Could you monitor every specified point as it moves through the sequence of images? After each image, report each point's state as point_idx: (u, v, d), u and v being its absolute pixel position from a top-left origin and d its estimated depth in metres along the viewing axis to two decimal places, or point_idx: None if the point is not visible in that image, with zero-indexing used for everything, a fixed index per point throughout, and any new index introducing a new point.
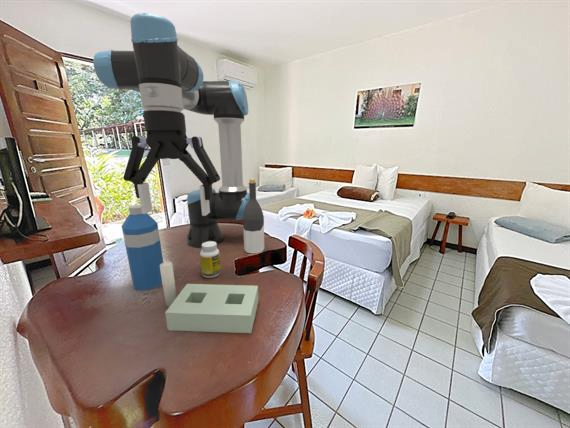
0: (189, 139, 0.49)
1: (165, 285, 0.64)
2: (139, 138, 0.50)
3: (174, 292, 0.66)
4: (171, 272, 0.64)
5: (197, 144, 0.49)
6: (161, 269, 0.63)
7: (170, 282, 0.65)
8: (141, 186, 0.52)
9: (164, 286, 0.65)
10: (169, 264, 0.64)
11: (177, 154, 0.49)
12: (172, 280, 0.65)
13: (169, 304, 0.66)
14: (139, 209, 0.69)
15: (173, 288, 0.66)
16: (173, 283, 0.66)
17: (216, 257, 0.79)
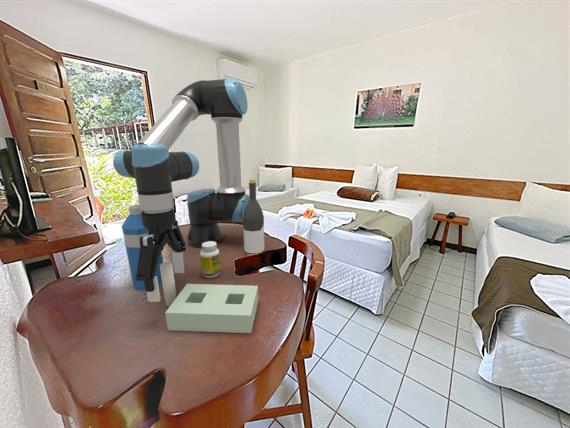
0: None
1: (165, 285, 0.64)
2: None
3: (174, 292, 0.66)
4: (171, 272, 0.64)
5: None
6: (161, 269, 0.63)
7: (170, 282, 0.65)
8: (173, 254, 0.70)
9: (164, 286, 0.65)
10: (169, 264, 0.64)
11: None
12: (172, 280, 0.65)
13: (169, 304, 0.66)
14: (139, 209, 0.69)
15: (173, 288, 0.66)
16: (173, 283, 0.66)
17: (216, 257, 0.79)
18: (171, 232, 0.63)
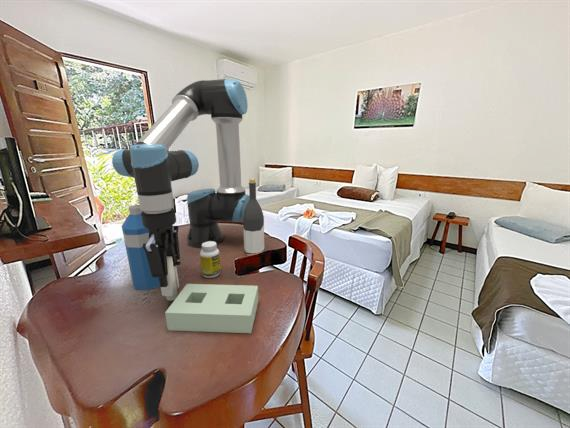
0: None
1: None
2: None
3: (174, 286, 0.66)
4: (171, 266, 0.64)
5: None
6: None
7: None
8: None
9: None
10: (169, 258, 0.64)
11: None
12: (172, 274, 0.65)
13: (169, 298, 0.66)
14: (139, 209, 0.69)
15: (173, 282, 0.66)
16: (173, 277, 0.65)
17: (216, 257, 0.79)
18: (171, 232, 0.63)
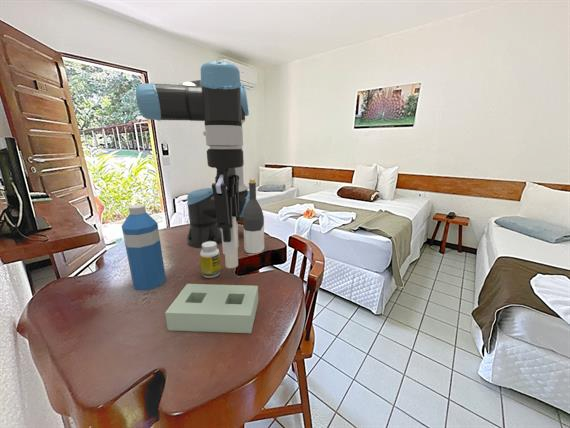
0: None
1: None
2: None
3: (236, 251, 0.57)
4: (235, 227, 0.56)
5: None
6: None
7: None
8: None
9: None
10: (233, 217, 0.56)
11: None
12: (235, 237, 0.56)
13: (230, 264, 0.57)
14: (139, 209, 0.69)
15: (236, 246, 0.57)
16: (236, 240, 0.57)
17: (216, 257, 0.79)
18: (237, 178, 0.54)
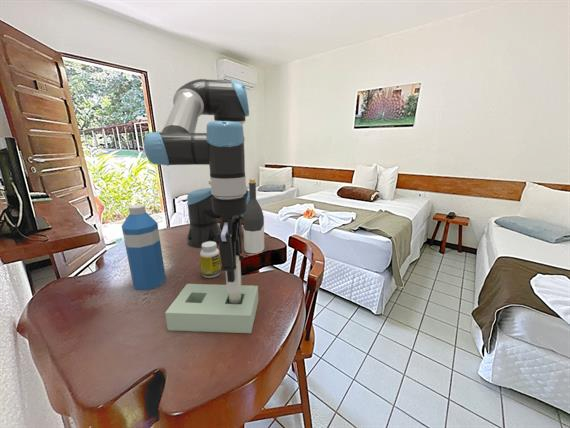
0: None
1: None
2: None
3: (239, 288, 0.60)
4: (238, 266, 0.59)
5: None
6: None
7: None
8: None
9: None
10: (236, 257, 0.58)
11: None
12: (238, 275, 0.59)
13: (234, 301, 0.60)
14: (139, 209, 0.69)
15: (239, 284, 0.60)
16: (239, 278, 0.60)
17: (216, 257, 0.79)
18: (240, 221, 0.57)
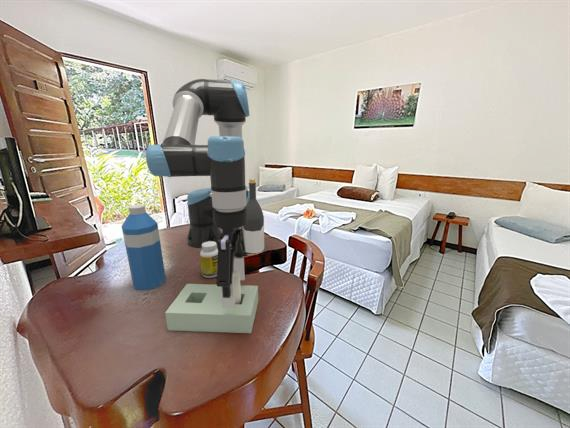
0: None
1: None
2: None
3: None
4: (239, 283, 0.60)
5: (218, 247, 0.51)
6: None
7: (237, 294, 0.60)
8: (234, 259, 0.65)
9: None
10: (237, 274, 0.60)
11: None
12: (239, 291, 0.60)
13: None
14: (139, 209, 0.69)
15: (240, 300, 0.61)
16: (240, 294, 0.61)
17: (216, 257, 0.79)
18: (240, 232, 0.58)
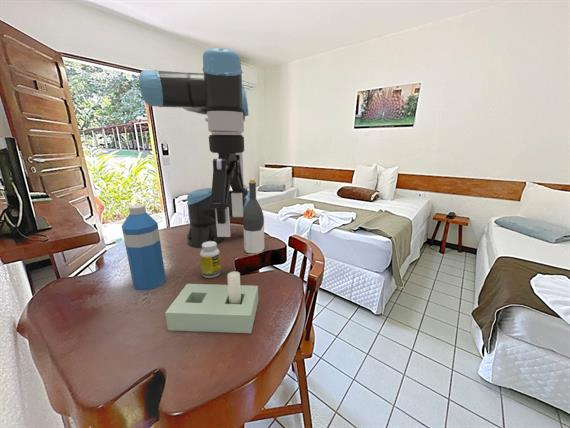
0: None
1: (232, 297, 0.60)
2: None
3: None
4: (239, 283, 0.60)
5: None
6: (229, 280, 0.59)
7: (237, 293, 0.60)
8: (232, 194, 0.64)
9: (231, 298, 0.60)
10: (237, 274, 0.60)
11: None
12: (239, 291, 0.61)
13: None
14: (139, 209, 0.69)
15: (240, 300, 0.61)
16: (240, 294, 0.61)
17: (216, 257, 0.79)
18: (238, 163, 0.56)
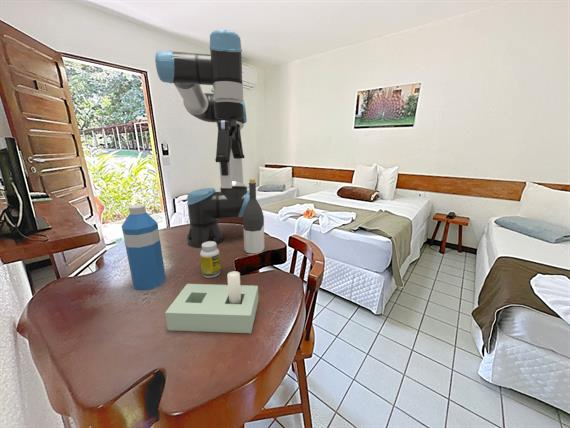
0: None
1: (232, 297, 0.60)
2: None
3: None
4: (239, 282, 0.60)
5: (218, 127, 0.59)
6: (229, 279, 0.59)
7: (237, 293, 0.60)
8: (233, 160, 0.74)
9: (231, 298, 0.60)
10: (237, 274, 0.60)
11: None
12: (239, 291, 0.61)
13: None
14: (139, 209, 0.69)
15: (240, 299, 0.61)
16: (240, 294, 0.61)
17: (216, 257, 0.79)
18: (238, 129, 0.67)
